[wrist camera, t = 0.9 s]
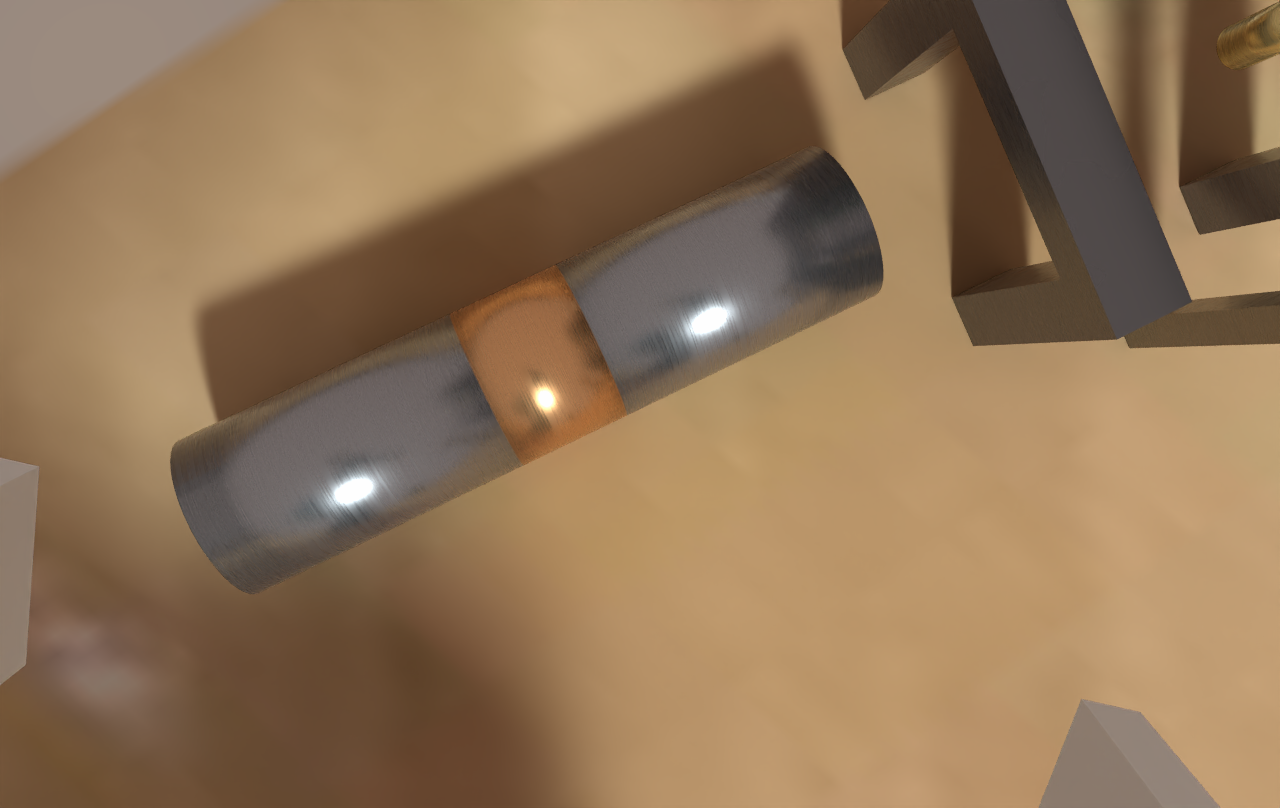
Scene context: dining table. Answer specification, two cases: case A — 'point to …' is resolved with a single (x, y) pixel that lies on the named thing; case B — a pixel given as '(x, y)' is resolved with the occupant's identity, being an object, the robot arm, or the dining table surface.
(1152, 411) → the dining table surface
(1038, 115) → the dark grey arch
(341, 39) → the dining table surface
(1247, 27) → the frame
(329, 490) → the tube
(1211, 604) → the dining table surface
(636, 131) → the dining table surface
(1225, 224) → the collar
